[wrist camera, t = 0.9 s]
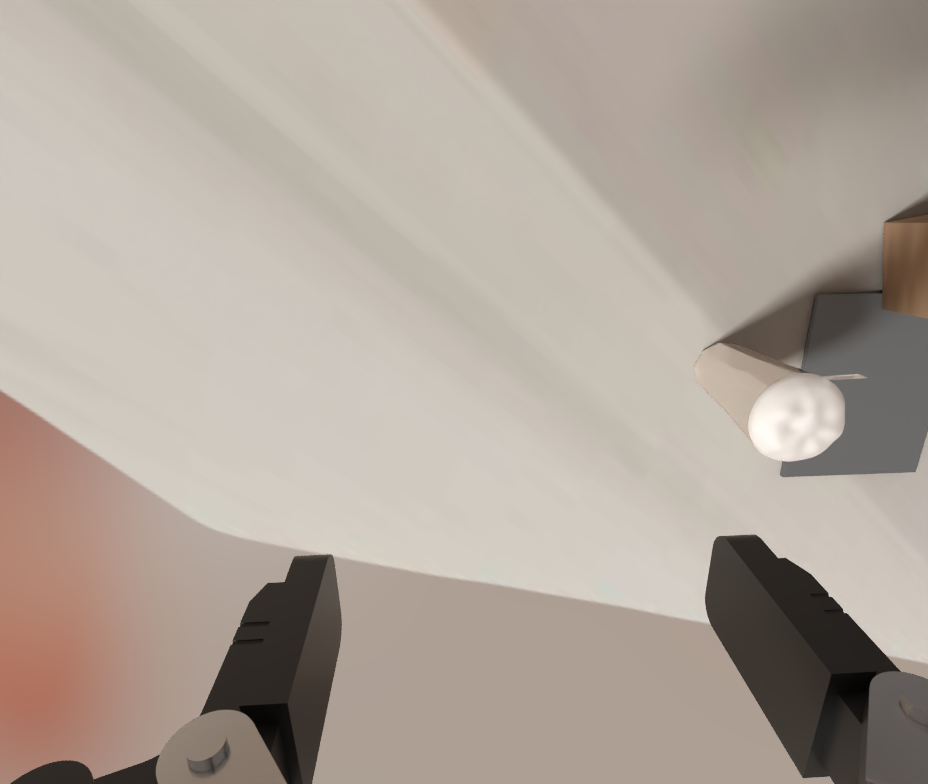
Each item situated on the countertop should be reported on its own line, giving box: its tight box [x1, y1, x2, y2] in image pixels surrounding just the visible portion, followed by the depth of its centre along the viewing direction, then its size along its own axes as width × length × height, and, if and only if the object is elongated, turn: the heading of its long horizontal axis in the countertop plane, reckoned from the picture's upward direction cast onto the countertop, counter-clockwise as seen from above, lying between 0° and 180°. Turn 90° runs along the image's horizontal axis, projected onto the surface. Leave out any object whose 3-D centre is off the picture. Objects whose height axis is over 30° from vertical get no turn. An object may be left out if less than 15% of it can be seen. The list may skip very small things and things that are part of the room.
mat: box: [780, 292, 928, 477], centre depth 36 cm, size 12×9×1 cm
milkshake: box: [694, 342, 867, 462], centre depth 30 cm, size 4×5×10 cm
